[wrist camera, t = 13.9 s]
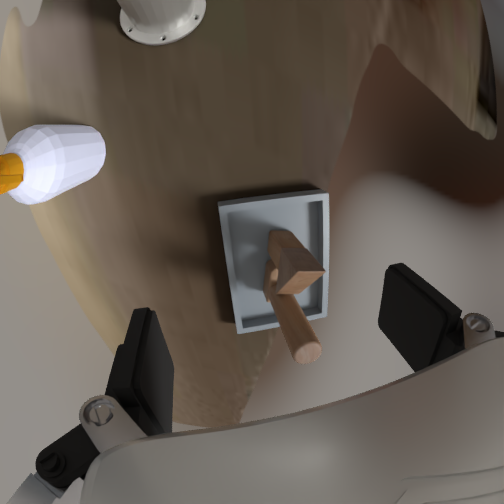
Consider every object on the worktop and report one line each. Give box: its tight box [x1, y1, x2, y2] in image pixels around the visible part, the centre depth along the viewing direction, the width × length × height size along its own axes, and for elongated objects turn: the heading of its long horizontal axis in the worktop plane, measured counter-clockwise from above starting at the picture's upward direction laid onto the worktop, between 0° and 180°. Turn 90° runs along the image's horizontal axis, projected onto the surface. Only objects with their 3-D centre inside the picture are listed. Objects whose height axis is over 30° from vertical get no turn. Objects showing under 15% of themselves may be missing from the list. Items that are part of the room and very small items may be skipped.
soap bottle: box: [0, 125, 106, 204], centre depth 25 cm, size 9×9×24 cm
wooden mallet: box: [263, 230, 326, 364], centre depth 38 cm, size 4×11×18 cm, turn 176°
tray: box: [218, 189, 329, 334], centre depth 46 cm, size 22×16×3 cm
